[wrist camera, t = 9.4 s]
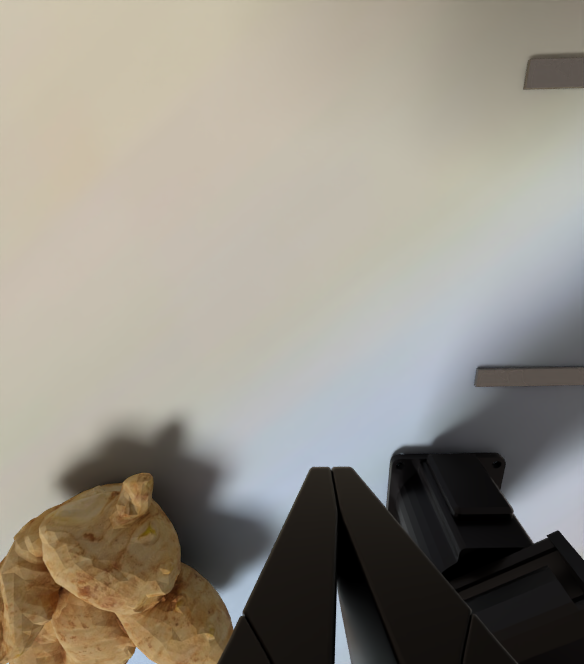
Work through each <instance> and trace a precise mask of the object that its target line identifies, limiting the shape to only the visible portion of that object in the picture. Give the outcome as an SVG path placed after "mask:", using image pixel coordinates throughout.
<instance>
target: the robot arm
mask: <svg viewBox="0 0 584 664" xmlns="http://www.w3.org/2000/svg"><path fill="white" fill-rule="evenodd" d="M495 461H497V462H496V463H494V462H495ZM400 462H401V463H402V464H401V465H397V464H398V463H400ZM493 463H494V464H493ZM505 465H506V462H505V460H504V459H503V457H502V456H501V455H500V454H498V453H459V454H399V455H395V456H393V457H392V458H391V460H390V468H389V479H388V491H387V503H386V507H385V506H384V505H383V504H382V503H381V501H380V500H379V499H378V498H377V497H376V495H375V494H374V493H373V492H372V491H371V489H370V488H369V487H368V486H367V485H366V484H365V482H364V481H363V480H362V479H361V478H360V476H359V475H358V474H357V473H356V472H355V470H354V469H353V468H351V467H333V468H332V469H330V468H329V467H312V468H311V469H310V470H309V472H308V474H307V476H306V478H305V481H304V483H303V485H302V487H301V489H300V491H299V493H298V495H297V497H296V500H295V502H294V504H293V506H292V508H291V510H290V512H289V514H288V517H287V519H286V521H285V523H284V525H283V527H282V529H281V531H280V533H279V536H278V538H277V540H276V542H275V544H274V546H273V548H272V550H271V553H270V555H269V557H268V559H267V561H266V563H265V565H264V567H263V570H262V572H261V574H260V576H259V578H258V580H257V582H256V584H255V586H254V589H253V591H252V593H251V595H250V597H249V599H248V601H247V603H246V606H245V608H244V610H243V616H241V617H240V618H239V620H238V622H237V624H236V626H235V628H234V630H233V632H232V635H231V637H230V639H229V641H228V643H227V645H226V647H225V649H224V651H223V653H222V655H221V657H220V659H219V661H218V663H217V664H334V663H335V631H336V598H337V589H338V595H339V601H340V607H341V612H342V617H343V622H344V628H345V633H346V638H347V643H348V649H349V654H350V659H351V664H584V560H583V559H582V558H581V556H580V555H579V554H578V553H577V552H576V550H575V549H574V548H573V547H572V546H571V545H570V543H569V542H568V541H567V540H566V539H565V538H564V536H563V535H562V534H561V533H560V532H559V531H555V532H553V533H551V534H549V535H547V537H548V538H546V539H543V540H541V541H539V542H537V543H533V541H532V540H531V539H530V537H529V536H528V534H527V533H526V531H525V530H524V528H523V527H522V525H521V524H520V522H519V521H518V519H517V518H516V517H515V515H514V514H513V512H514V511H513V508H512V507H511V505H510V504H509V502H508V501H507V499H506V498H505V497H504V495H503V494H502V492H501V491H500V488H501V484H502V479H503V474H504V470H505Z"/></svg>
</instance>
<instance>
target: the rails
mask: <svg viewBox="0 0 584 664" xmlns="http://www.w3.org/2000/svg"><path fill="white" fill-rule="evenodd" d="M560 88H584V58H555V59H530V60H529V61H528V64H527V70H526V76H525V82H524V88H523V89H560ZM554 385H584V367H528V368H477V370H476V376H475V382H474V386H475V387H494V386H554Z"/></svg>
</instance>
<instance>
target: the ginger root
mask: <svg viewBox="0 0 584 664" xmlns="http://www.w3.org/2000/svg"><path fill="white" fill-rule="evenodd" d="M153 484H154V483H153V477H152V475H151V474H150V473H139V474H135V475H133V476H131V477H129V478H127V479H126V480H125V481H124V482H123V483H115V484H106V485H102V486H100V485H98V486H96V487H94V488H92V489H89V490H86V491H84V492H82V493H80V494H78V495H76V496H74V497H73V498H71V499H69V500H67V501H65V502H63V503H62V504H60V505H57V506H55V507H52V508H50V509H48V510H46V511H45V512H43V513H42V514H41V515H39V516H38V517H37V518H34V519H32V520H30V521H29V522H28V523H27V524H26V525H25V526H23V527H22V529H21V530H20V531H19V532H18V533H17V534H16V535H15V536H14V540H15V541H14V543H13V545H12V546H11V548H10V550H9V552H8V554H7V556H6V557H5V558H4V559H3V560H2V562H1V563H0V664H6V663H8V662H9V664H126V663H127V662H128V660H129V658H131V657H132V655H133V654H134V652H135V648H136V647H137V648H138V649H139V650H140V651H142V652H143V653H144V654H145V655H146V656H147V657H148V658H149V659H150V660H152V661H154V662H155V663H157V664H217V663H218V661H219V659H220V657H221V655H222V653H223V651H224V649H225V647H226V645H227V643H228V641H229V639H230V637H231V635H232V632H233V626H232V622H231V617H230V615H229V613H228V610H227V608H226V606H225V604H224V602H223V601H222V599H221V597H220V596H219V594H218V592H217V591H216V590H215V589H214V588H213V586H212V585H211V584H210V583H209V582H208V580H207V579H205V578H204V577H203V576H202V575H200V574H199V573H198V572H197V571H196V570H195V569H193V568H192V567H190V566H188V565H186V564H184V563H182V562H181V561H180V560H181V547H180V544H179V540H178V535H177V533H176V531H175V529H174V527H173V525H172V523H171V521H170V520H169V518H168V517H167V516H166V514H165V513H164V511H163V510H162V509H161V507H160V506H159V505H158V504H157V503H156V502H155V501H154V500H153V499H152V491H153Z"/></svg>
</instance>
